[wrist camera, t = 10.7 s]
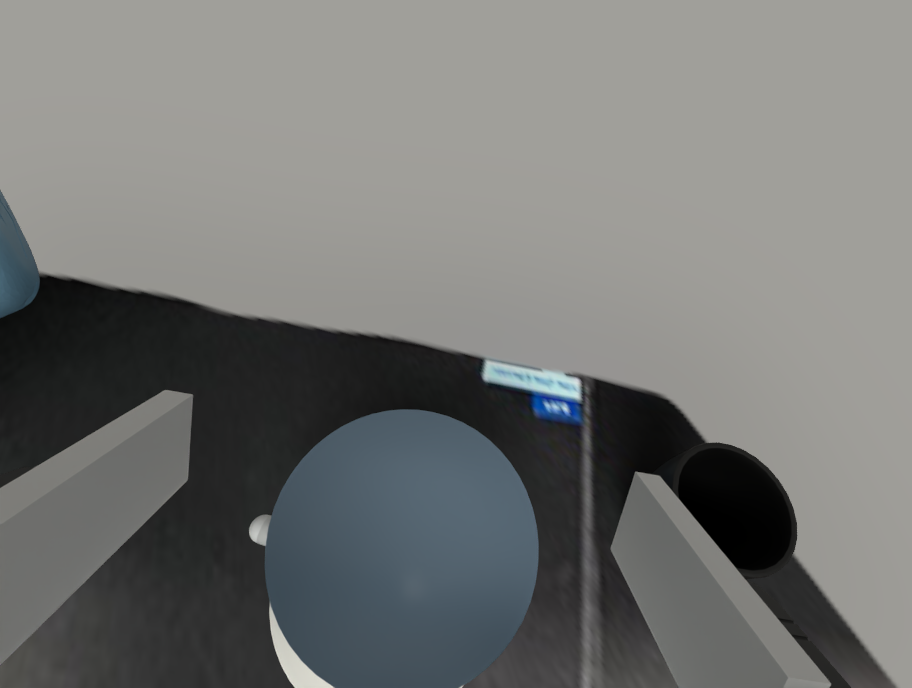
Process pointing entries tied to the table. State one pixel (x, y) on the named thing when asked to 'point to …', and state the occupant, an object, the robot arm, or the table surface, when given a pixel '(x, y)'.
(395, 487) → the plunger
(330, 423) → the table surface
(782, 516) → the mug
